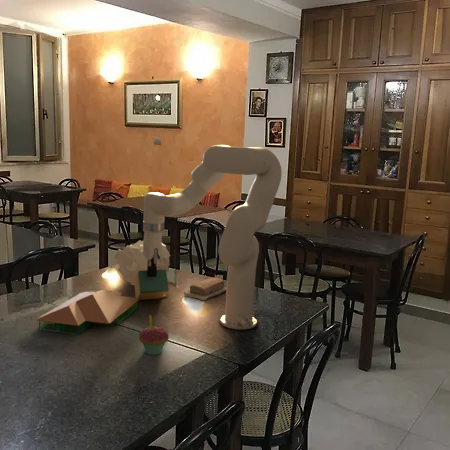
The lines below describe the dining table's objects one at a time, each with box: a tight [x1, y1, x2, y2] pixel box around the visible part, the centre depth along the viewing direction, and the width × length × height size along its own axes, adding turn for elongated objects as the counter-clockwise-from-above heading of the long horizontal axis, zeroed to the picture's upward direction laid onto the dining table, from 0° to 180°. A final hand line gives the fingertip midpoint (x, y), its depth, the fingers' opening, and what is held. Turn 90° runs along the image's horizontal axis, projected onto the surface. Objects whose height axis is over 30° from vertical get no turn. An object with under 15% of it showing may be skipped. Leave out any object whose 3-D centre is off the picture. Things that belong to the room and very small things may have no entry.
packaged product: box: [183, 276, 227, 301], centre depth 203 cm, size 18×5×10 cm
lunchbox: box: [133, 270, 169, 301], centre depth 189 cm, size 11×10×8 cm
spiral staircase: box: [114, 239, 171, 286], centre depth 215 cm, size 18×18×25 cm
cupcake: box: [138, 315, 170, 356], centre depth 146 cm, size 9×8×12 cm
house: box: [35, 289, 141, 335], centre depth 171 cm, size 23×33×8 cm
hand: (151, 276), depth 184 cm, fingers closed
